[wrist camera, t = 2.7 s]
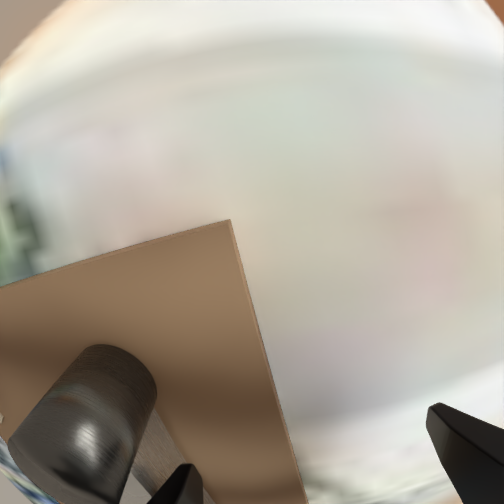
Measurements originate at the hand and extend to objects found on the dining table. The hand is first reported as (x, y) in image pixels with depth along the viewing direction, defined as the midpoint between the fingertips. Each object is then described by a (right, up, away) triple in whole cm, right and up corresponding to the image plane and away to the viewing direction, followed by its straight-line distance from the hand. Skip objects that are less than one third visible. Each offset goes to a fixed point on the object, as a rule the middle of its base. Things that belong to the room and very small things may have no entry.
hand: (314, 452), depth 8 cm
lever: (-5, -5, +3) cm, 7 cm away
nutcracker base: (-8, -5, +4) cm, 10 cm away
